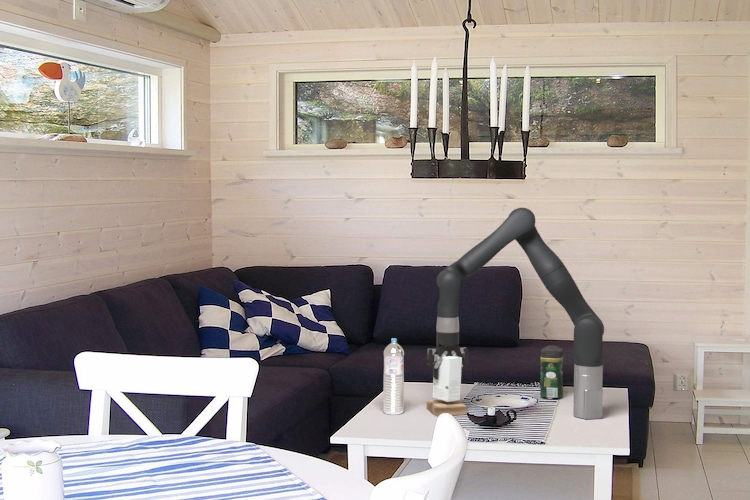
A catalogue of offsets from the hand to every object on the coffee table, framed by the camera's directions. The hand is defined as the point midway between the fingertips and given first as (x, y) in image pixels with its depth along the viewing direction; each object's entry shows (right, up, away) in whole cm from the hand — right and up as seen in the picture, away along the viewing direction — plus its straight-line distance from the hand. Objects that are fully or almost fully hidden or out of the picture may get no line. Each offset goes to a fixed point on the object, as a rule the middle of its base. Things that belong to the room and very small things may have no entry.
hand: (447, 378), depth 315 cm
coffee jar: (+40, -10, +25) cm, 48 cm away
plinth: (0, -11, +1) cm, 11 cm away
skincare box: (0, -7, 0) cm, 7 cm away
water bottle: (-18, -11, -1) cm, 22 cm away
